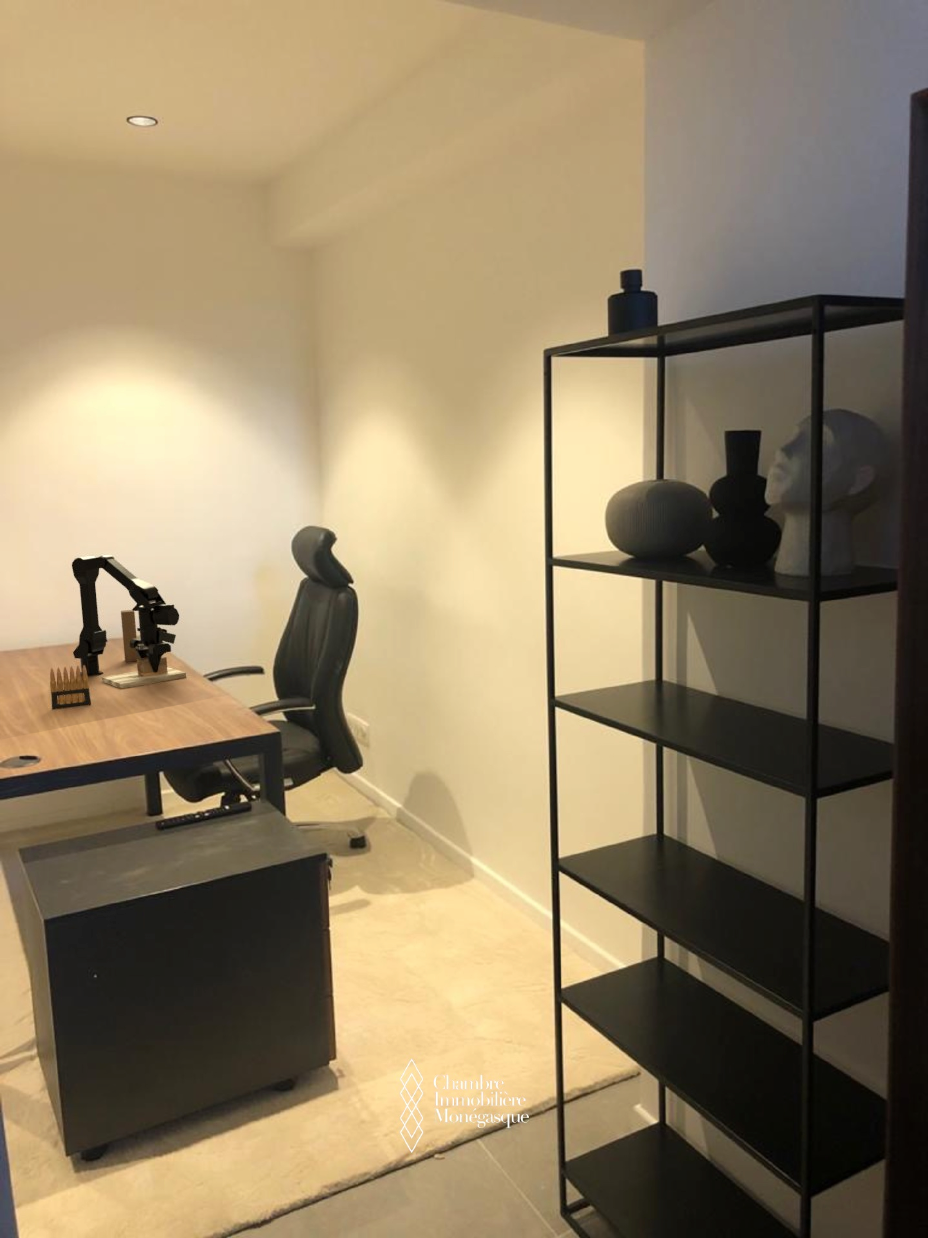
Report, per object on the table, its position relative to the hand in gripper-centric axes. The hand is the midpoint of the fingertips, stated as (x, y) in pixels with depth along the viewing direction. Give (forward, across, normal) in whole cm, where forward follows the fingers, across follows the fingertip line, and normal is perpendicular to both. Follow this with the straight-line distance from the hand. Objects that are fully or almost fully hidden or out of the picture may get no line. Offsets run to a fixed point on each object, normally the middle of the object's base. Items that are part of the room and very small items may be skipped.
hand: (152, 671), depth 334 cm
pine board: (+2, 0, +3) cm, 4 cm away
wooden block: (+2, +34, -10) cm, 36 cm away
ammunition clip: (+2, -20, +34) cm, 39 cm away
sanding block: (+1, 0, 0) cm, 1 cm away
